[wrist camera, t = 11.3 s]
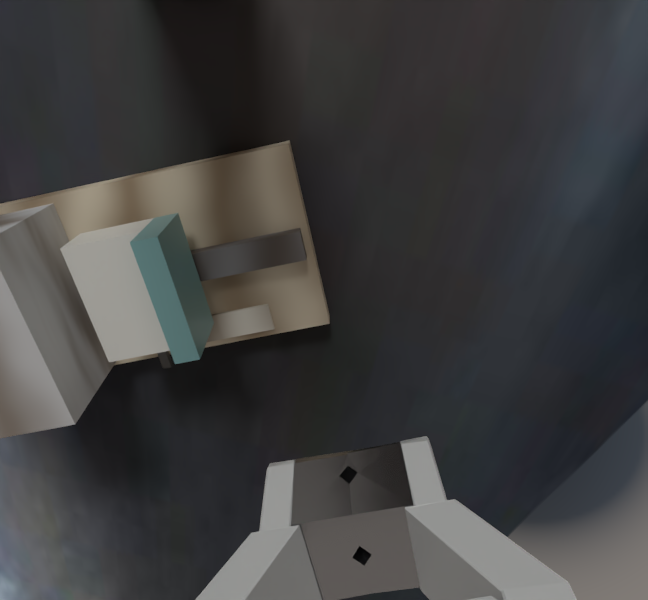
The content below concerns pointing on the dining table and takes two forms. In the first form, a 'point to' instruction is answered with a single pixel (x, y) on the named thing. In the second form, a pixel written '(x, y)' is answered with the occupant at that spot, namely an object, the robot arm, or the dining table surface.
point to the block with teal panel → (142, 290)
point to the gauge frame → (207, 251)
